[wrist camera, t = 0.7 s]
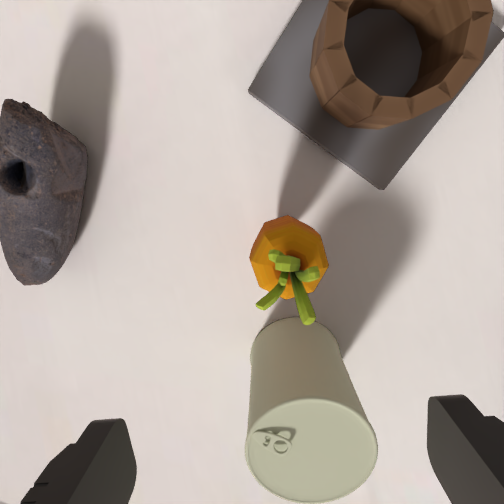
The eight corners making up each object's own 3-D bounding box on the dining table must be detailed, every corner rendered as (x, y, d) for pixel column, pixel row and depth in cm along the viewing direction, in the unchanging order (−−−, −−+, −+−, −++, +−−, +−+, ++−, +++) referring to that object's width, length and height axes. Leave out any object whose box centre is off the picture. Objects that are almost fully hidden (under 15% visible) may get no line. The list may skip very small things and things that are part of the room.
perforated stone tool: (82, 280, 32) (33, 311, 25) (29, 266, 31) (-34, 292, 25) (107, 125, 28) (57, 112, 21) (47, 107, 28) (-22, 88, 21)
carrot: (304, 258, 30) (342, 341, 16) (251, 254, 30) (241, 333, 16) (310, 205, 29) (357, 243, 14) (255, 201, 29) (248, 235, 15)
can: (269, 304, 32) (272, 383, 20) (354, 334, 32) (406, 429, 21) (238, 378, 34) (224, 488, 22) (318, 406, 34) (346, 527, 23)
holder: (494, 40, 25) (583, -9, 18) (378, 189, 28) (416, 196, 21) (355, -80, 24) (393, -184, 17) (248, 93, 27) (243, 67, 20)
